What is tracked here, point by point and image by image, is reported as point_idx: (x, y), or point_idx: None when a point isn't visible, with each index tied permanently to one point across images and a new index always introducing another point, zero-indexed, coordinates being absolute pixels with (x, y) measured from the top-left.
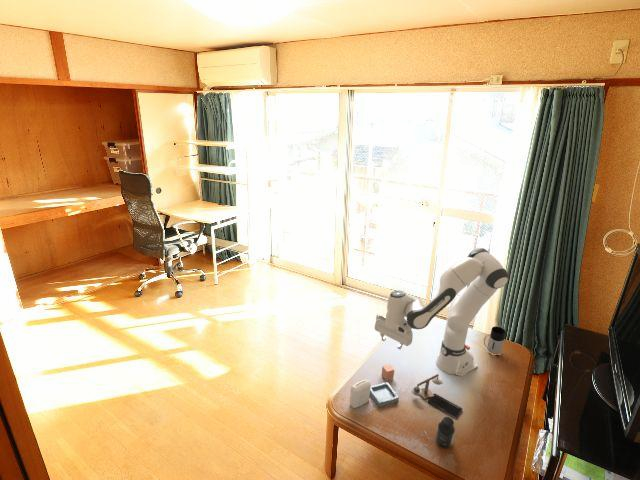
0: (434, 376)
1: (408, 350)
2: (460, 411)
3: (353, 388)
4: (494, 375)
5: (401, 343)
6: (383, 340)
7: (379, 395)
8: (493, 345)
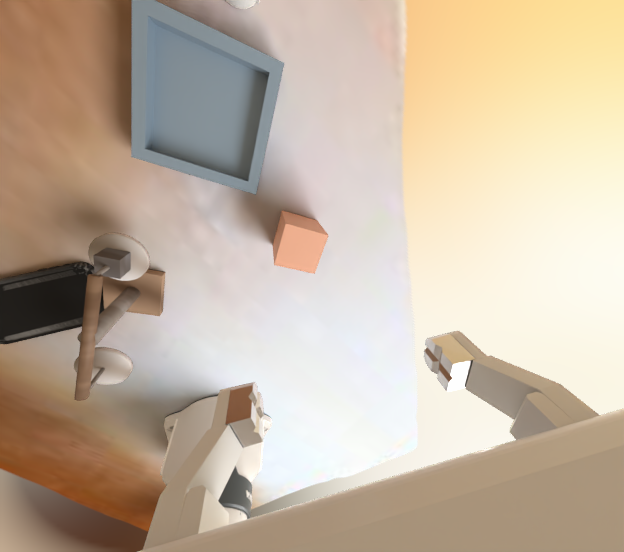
0: (78, 378)
1: (338, 372)
2: None
3: None
4: (130, 473)
5: (170, 527)
6: (439, 342)
7: (212, 87)
8: None
